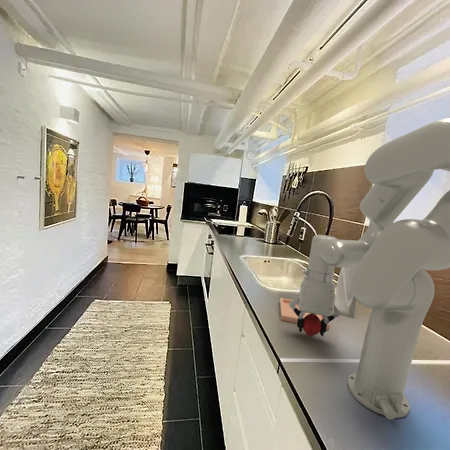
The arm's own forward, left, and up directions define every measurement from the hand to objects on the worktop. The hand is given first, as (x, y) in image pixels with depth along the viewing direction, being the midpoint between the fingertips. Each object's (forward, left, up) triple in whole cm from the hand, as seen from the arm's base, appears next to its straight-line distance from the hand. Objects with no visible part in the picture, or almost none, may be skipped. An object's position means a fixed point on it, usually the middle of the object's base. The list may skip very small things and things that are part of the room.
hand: (310, 331), depth 84 cm
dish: (+16, +1, -2) cm, 16 cm away
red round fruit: (0, 0, -2) cm, 2 cm away
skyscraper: (+28, -16, -3) cm, 32 cm away
